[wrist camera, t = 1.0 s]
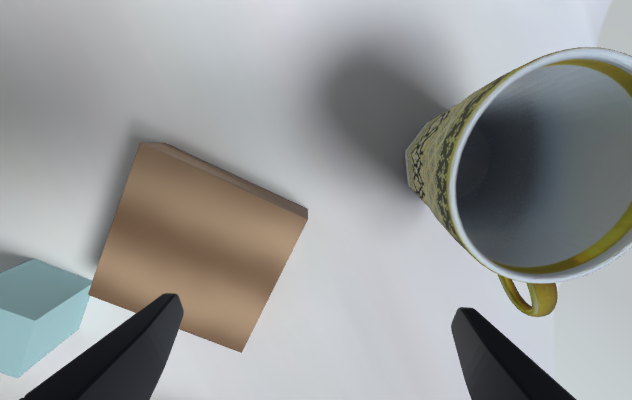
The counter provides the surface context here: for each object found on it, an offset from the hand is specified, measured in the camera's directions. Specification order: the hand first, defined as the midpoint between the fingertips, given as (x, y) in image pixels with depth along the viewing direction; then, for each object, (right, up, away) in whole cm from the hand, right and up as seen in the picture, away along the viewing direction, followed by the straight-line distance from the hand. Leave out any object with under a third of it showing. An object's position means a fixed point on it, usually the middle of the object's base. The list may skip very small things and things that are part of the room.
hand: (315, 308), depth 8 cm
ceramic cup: (+11, +5, +13) cm, 17 cm away
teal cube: (-22, -5, +14) cm, 26 cm away
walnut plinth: (-9, 0, +13) cm, 16 cm away
